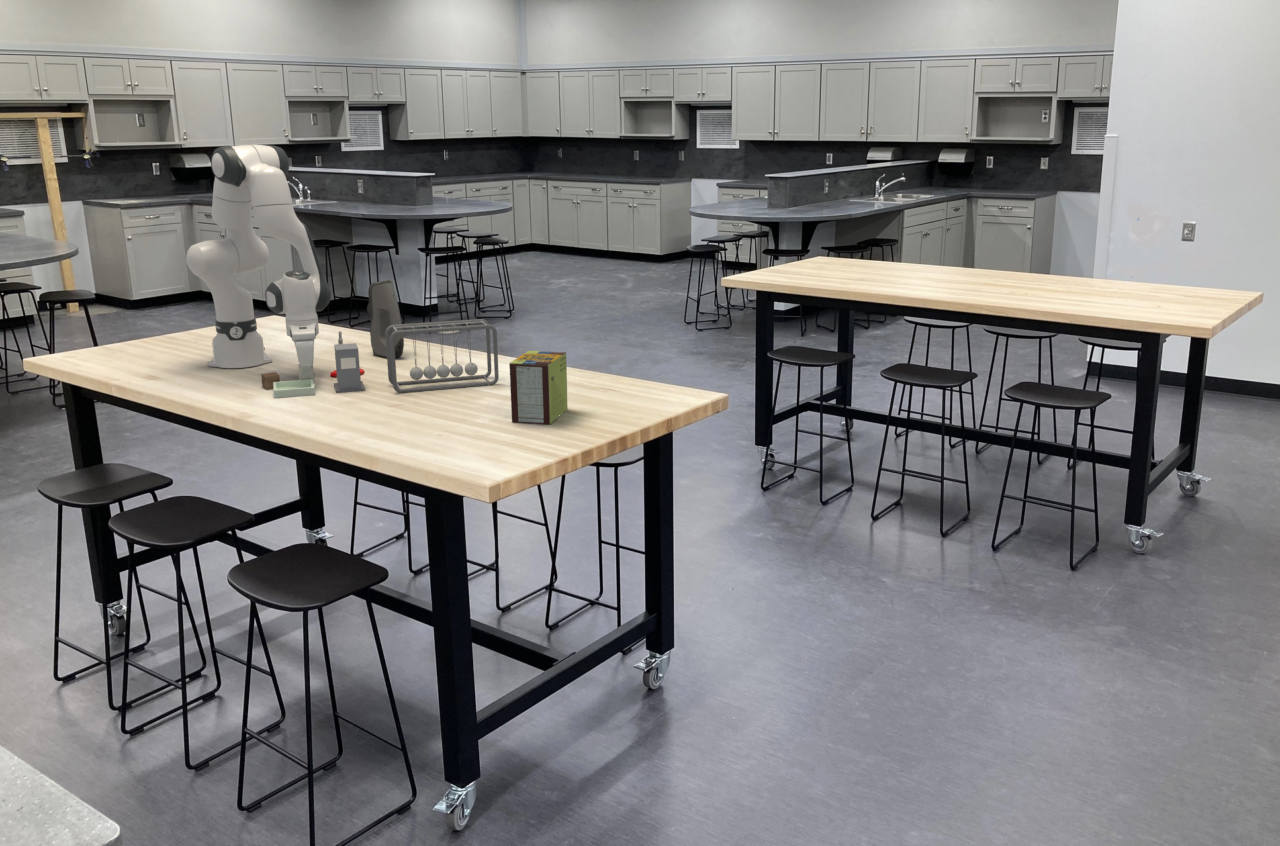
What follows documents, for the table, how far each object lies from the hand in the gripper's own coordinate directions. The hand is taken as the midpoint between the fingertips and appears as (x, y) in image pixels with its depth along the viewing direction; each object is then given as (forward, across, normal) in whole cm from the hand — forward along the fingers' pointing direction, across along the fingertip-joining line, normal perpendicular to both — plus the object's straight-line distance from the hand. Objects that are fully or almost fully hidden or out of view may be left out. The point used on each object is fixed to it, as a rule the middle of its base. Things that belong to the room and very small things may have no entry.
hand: (306, 375), depth 306 cm
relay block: (+2, 0, 0) cm, 2 cm away
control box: (+2, +10, +11) cm, 15 cm away
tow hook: (+3, -8, +12) cm, 15 cm away
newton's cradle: (+2, +16, +37) cm, 41 cm away
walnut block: (+2, +2, -10) cm, 10 cm away
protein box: (+2, +58, +55) cm, 80 cm away
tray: (+2, +10, -4) cm, 11 cm away
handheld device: (+3, -30, +27) cm, 40 cm away
